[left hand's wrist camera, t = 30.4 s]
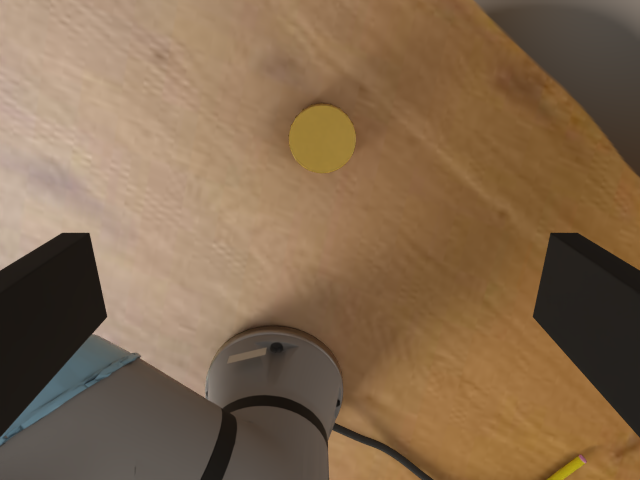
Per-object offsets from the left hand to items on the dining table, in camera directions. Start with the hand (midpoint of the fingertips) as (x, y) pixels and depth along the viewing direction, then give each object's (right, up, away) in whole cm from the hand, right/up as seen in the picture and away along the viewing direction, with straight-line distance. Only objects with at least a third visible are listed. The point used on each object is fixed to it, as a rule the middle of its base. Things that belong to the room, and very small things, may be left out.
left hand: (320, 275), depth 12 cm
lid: (0, +10, +24) cm, 26 cm away
